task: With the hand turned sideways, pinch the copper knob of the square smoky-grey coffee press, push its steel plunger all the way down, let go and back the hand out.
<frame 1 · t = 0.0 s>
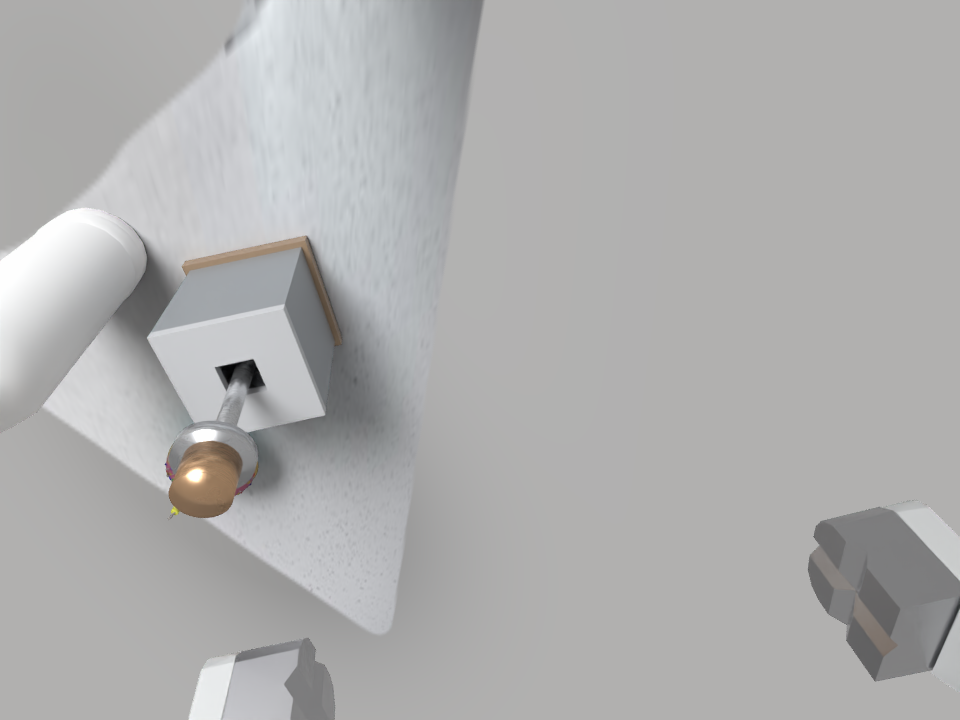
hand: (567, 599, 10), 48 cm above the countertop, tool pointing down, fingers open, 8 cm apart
plunger: (232, 406, 44), point 17 cm above the countertop, slide at 6.0 cm
press: (268, 301, 58), on the countertop
bottle: (100, 249, 53), on the countertop
cupcake: (223, 434, 66), on the countertop
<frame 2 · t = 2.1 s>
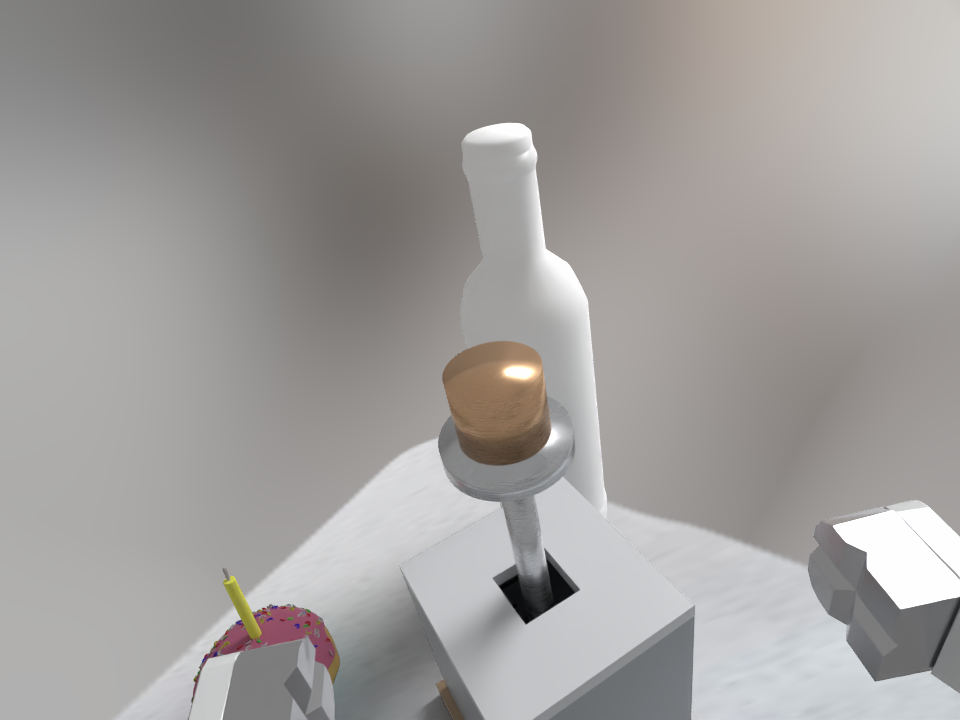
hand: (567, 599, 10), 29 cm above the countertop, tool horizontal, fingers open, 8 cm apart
plunger: (525, 534, 27), point 17 cm above the countertop, slide at 6.0 cm
press: (562, 719, 36), on the countertop
bottle: (556, 526, 48), on the countertop
cupcake: (294, 712, 39), on the countertop
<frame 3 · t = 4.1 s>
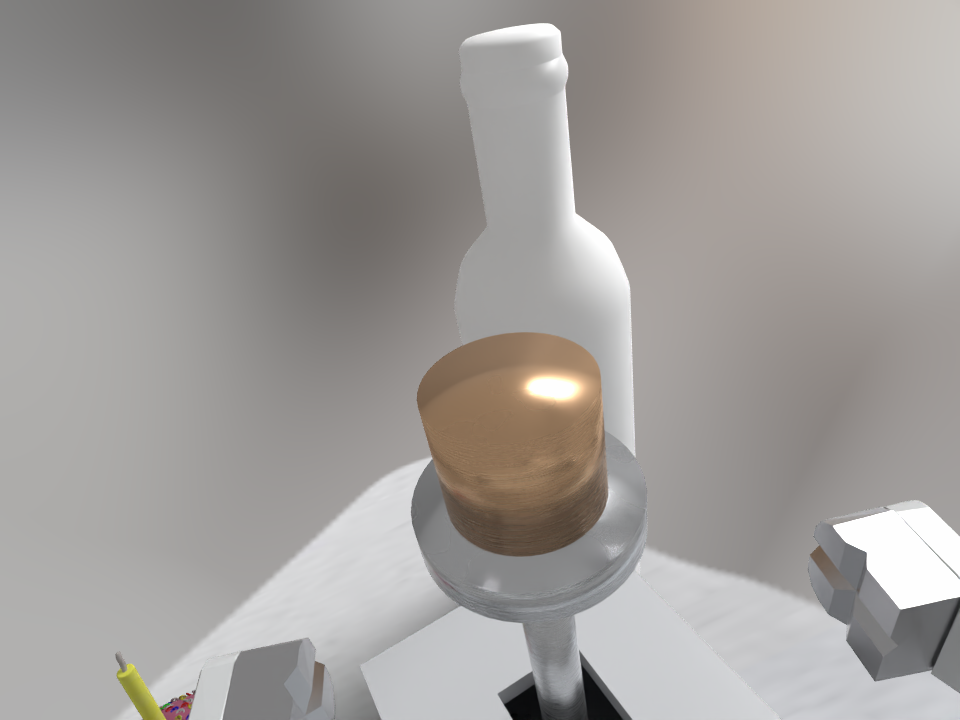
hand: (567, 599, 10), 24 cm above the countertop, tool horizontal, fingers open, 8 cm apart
plunger: (552, 641, 17), point 17 cm above the countertop, slide at 6.0 cm
bottle: (575, 576, 38), on the countertop
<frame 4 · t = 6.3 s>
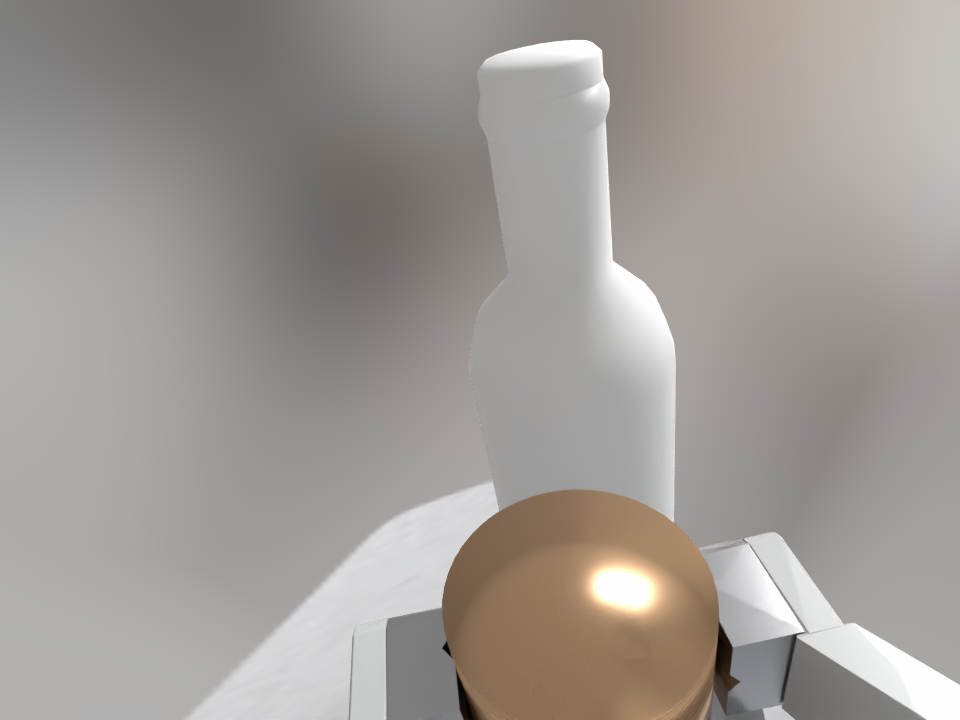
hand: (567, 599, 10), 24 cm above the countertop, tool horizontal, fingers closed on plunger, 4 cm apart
bottle: (599, 645, 34), on the countertop
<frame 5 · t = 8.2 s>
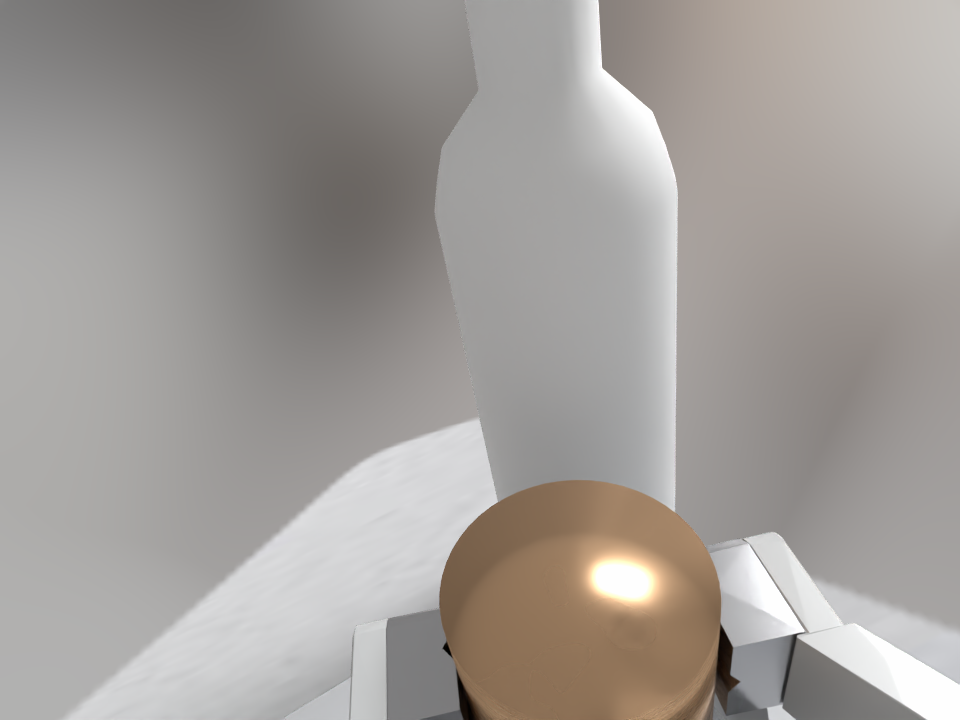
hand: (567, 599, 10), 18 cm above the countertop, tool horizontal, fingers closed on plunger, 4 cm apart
bottle: (593, 576, 31), on the countertop
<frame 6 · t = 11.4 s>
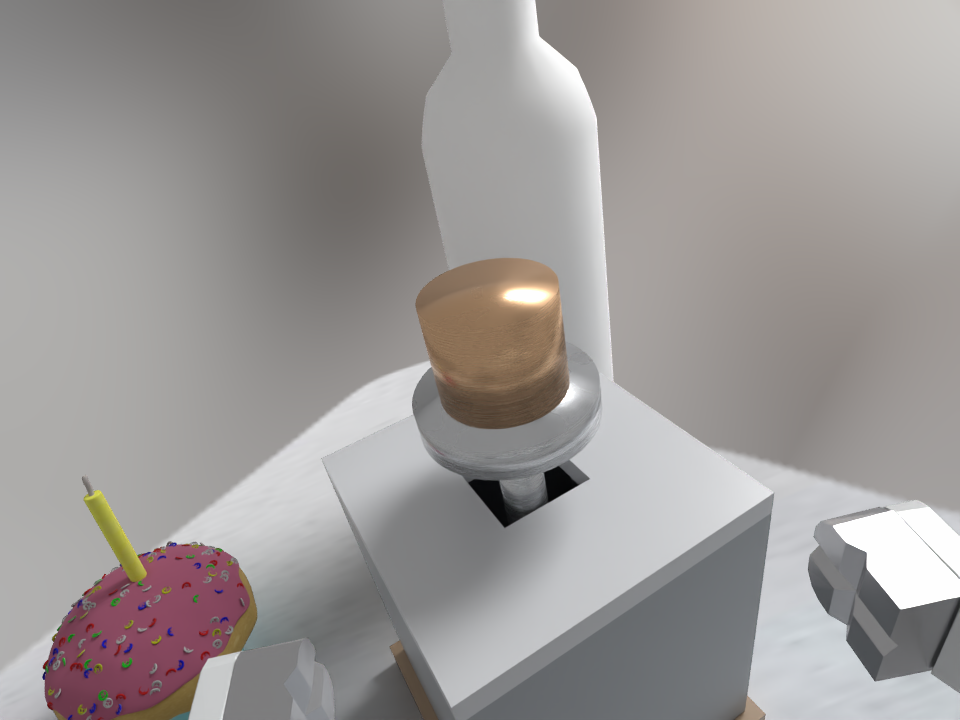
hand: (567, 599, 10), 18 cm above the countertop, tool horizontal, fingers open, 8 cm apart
plunger: (531, 528, 20), point 10 cm above the countertop, slide at -0.1 cm
press: (562, 692, 26), on the countertop
bottle: (554, 457, 38), on the countertop
cupcake: (201, 687, 29), on the countertop
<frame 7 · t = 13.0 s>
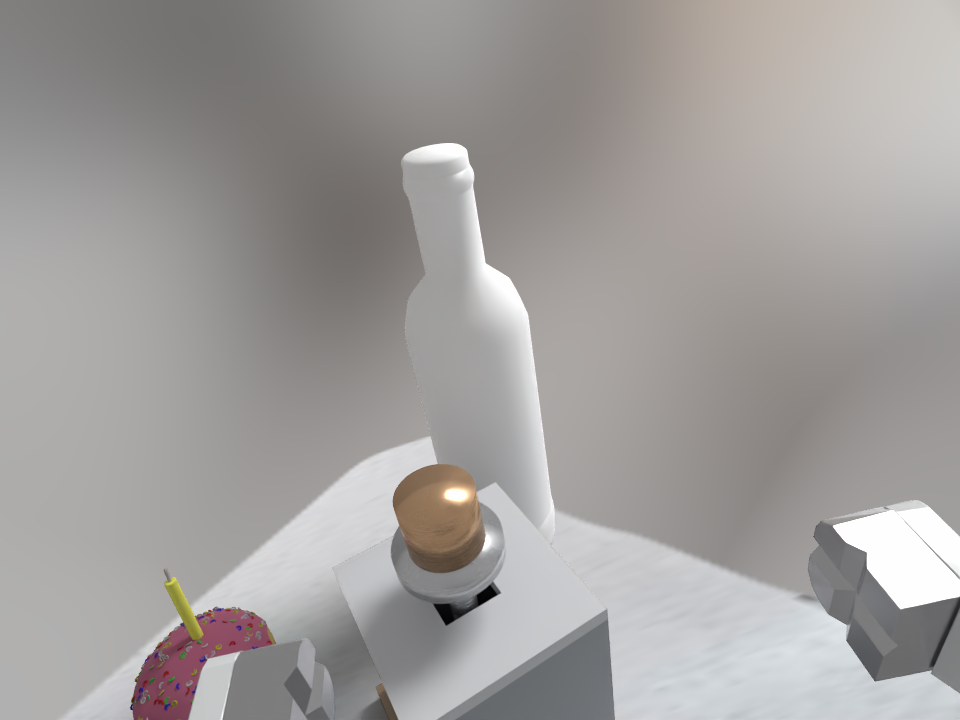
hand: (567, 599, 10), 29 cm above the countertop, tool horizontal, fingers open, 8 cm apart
plunger: (468, 618, 31), point 10 cm above the countertop, slide at -0.1 cm
bottle: (506, 534, 49), on the countertop
cupcake: (236, 714, 40), on the countertop
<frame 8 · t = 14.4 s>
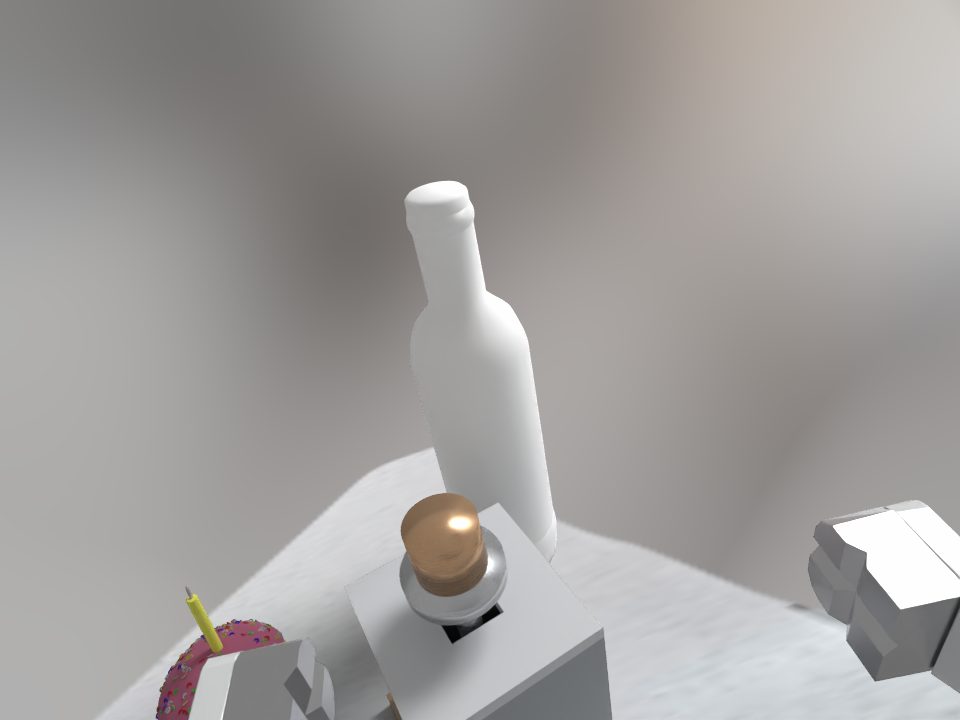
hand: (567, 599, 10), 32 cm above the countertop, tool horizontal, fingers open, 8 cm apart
plunger: (473, 634, 33), point 10 cm above the countertop, slide at -0.1 cm
bottle: (510, 544, 51), on the countertop
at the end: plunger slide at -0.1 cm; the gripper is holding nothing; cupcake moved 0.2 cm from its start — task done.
